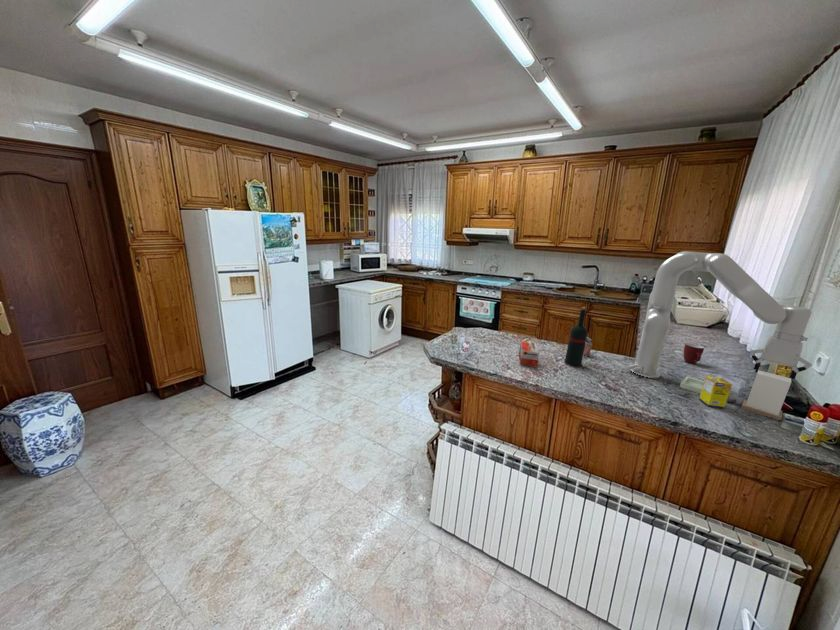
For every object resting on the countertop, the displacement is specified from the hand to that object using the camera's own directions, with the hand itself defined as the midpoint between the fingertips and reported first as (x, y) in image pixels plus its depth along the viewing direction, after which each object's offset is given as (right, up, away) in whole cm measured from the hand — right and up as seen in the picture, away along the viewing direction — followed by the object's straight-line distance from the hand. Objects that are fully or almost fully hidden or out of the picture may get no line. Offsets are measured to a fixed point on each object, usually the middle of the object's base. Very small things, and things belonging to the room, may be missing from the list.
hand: (772, 375), depth 134 cm
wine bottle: (-67, 0, +34) cm, 75 cm away
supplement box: (-27, -12, -1) cm, 29 cm away
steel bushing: (-16, -11, +3) cm, 20 cm away
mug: (+2, -2, +43) cm, 43 cm away
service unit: (-10, -13, -5) cm, 17 cm away
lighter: (-54, +3, +47) cm, 72 cm away
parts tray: (-20, -8, +12) cm, 25 cm away
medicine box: (-91, +1, +33) cm, 97 cm away
